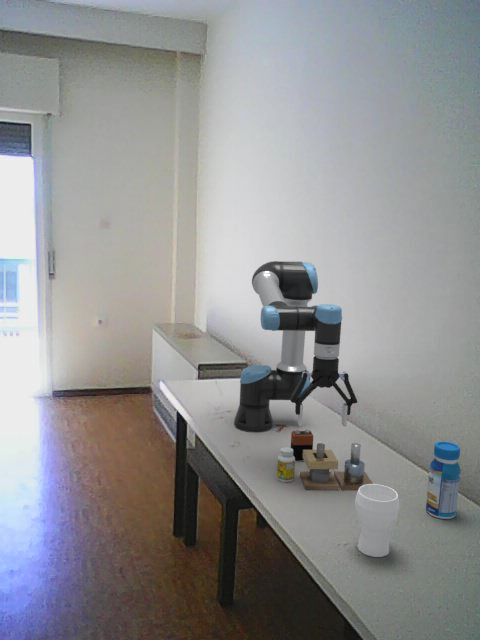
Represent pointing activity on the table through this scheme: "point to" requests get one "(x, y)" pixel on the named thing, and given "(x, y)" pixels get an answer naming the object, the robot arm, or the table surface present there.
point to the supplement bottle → (286, 465)
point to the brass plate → (320, 460)
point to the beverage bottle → (444, 481)
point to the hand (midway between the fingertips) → (321, 424)
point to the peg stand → (353, 471)
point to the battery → (301, 443)
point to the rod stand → (319, 475)
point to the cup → (376, 517)
